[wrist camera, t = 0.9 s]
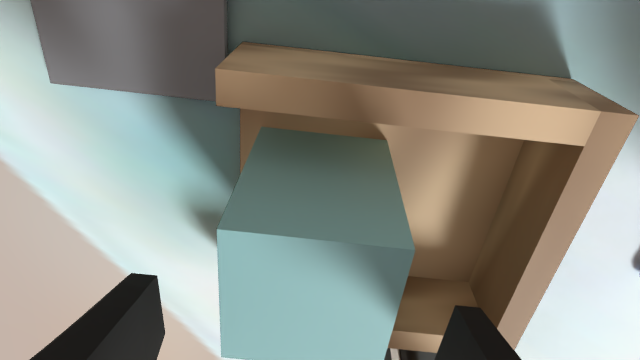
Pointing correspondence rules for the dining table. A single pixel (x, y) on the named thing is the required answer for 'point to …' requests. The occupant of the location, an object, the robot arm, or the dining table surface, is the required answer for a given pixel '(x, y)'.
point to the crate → (450, 166)
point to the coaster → (134, 44)
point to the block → (312, 250)
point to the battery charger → (408, 355)
